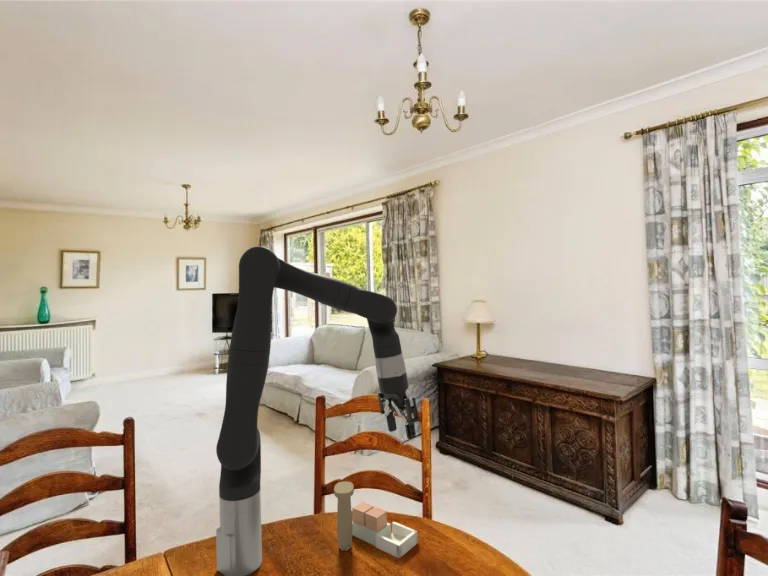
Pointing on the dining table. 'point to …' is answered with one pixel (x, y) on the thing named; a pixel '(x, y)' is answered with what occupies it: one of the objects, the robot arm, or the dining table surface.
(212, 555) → the dining table surface
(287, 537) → the dining table surface
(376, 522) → the salmon cube
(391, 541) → the tray
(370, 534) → the pale green flat block
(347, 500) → the handle
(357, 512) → the pink cube
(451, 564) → the dining table surface
